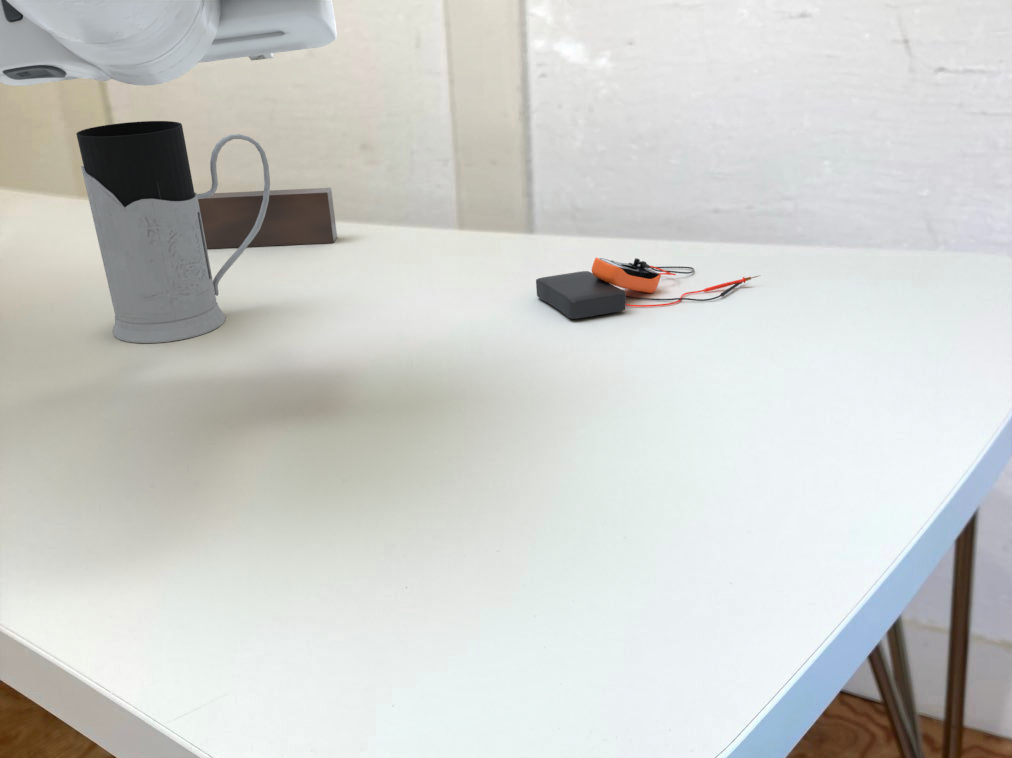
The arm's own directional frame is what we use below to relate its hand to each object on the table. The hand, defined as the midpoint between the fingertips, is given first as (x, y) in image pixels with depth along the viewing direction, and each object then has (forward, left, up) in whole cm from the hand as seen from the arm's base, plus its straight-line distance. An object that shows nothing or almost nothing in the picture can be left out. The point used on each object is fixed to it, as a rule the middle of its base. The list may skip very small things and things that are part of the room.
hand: (188, 56), depth 70 cm
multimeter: (+31, +11, -20) cm, 39 cm away
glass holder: (-5, +8, -20) cm, 22 cm away
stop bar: (-5, +33, -20) cm, 39 cm away
